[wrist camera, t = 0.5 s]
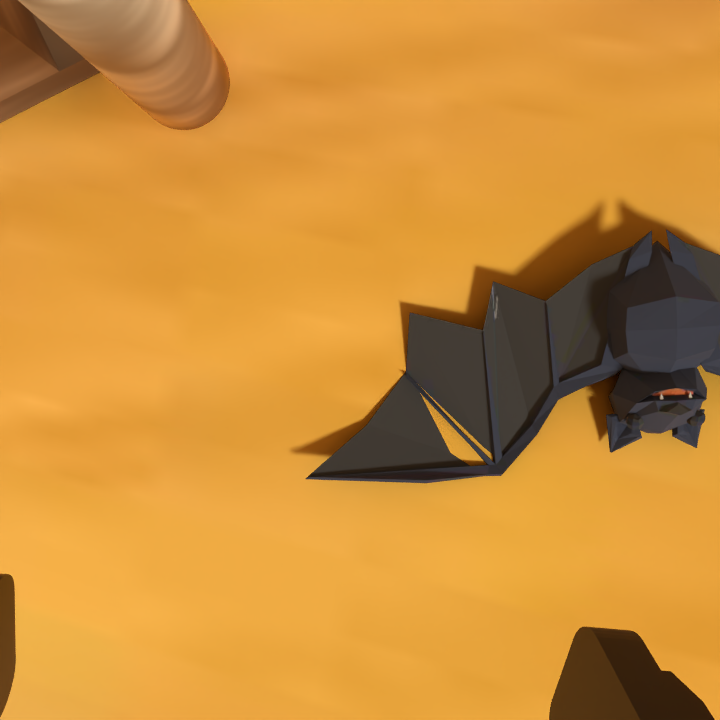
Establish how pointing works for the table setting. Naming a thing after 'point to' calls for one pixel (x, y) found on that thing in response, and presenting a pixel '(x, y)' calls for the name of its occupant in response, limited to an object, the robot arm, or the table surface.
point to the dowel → (146, 53)
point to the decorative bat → (550, 366)
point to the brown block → (33, 61)
